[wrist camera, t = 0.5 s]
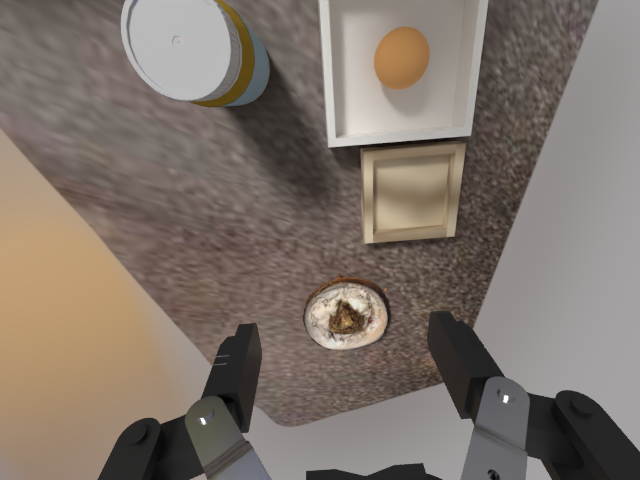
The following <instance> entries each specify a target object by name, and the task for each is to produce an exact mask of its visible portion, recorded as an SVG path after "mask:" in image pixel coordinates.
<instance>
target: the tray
mask: <svg viewBox="0 0 640 480" xmlns="http://www.w3.org/2000/svg"><path fill="white" fill-rule="evenodd" d="M465 149H466V143H464V142H460V141H445V142H433V143H420V144H408V145H396V146H384V147H372V148H360V150H361V205H362V237H363V240H364V242H365V244H366V243H378V242H391V241H403V240H416V239H428V238H441V237H453V236H455V228H456V220H457V212H458V204H459V197H460V189H461V181H462V173H463V165H464V157H465Z"/></svg>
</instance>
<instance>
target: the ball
mask: <svg viewBox="0 0 640 480" xmlns="http://www.w3.org/2000/svg"><path fill="white" fill-rule="evenodd" d="M429 57H430V51H429V45H428V42H427V40H426V38H425V37H424V35H423V34H422V33H421V32H420V31H418V30H417V29H415V28H412V27H399V28H396V29H394V30H392V31H390V32H389V33H388V34H387V35H385V36H384V38H383V39H382V40H381V41H380V43H379V45H378V47H377V49H376V52H375V56H374V68H375V72H376V75H377V77H378V79H379V80H380V81H381V82H382V83H383V84H384V85H385V86H387V87H389V88H391V89H405V88H408V87H410V86H412V85H414V84H415V83H416V82H417V81H418V80H419V79H420V78H421V77H422V76H423V74H424V73H425V71H426V69H427V66H428V63H429Z"/></svg>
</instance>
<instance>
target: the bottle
mask: <svg viewBox="0 0 640 480" xmlns="http://www.w3.org/2000/svg"><path fill="white" fill-rule="evenodd" d="M121 34H122V40H123V44H124V47H125V50H126V53H127V55H128V58H129V60H130V62H131V63H132V65H133V67H134V68H135V70H136V71H137V73H138V74H139V75H140V76H141V78H142V79H143V80H144V81H145V82H146V83H147V84H148V85H150V86H151V87H152V88H153V89H155V90H156V91H157V92H159V93H161V94H163V95H164V96H168V97H169V98H174V100H180V101H187V102H191V103H194V104H197V105H200V106H204V107H224V106H238V105H245V104H248V103H251V102H253V101H255V100H256V99H257V98H258V97H259V96H261V95H262V93H263V92H264V90H265V88H266V86H267V84H268V81H269V76H270V63H269V58H268V55H267V52H266V50H265V48H264V46H263V44H262V43H261V41H260V40H259V38H258V37H257V36H256V35H255V33H254V32H253V31H252V30H251V29H250V28H249V26H248V25H247V24H246V23H245V22H244V21H243V19H242V18H241V17H240V16H239V15H238V14H237V13H236V12H235V10H234V9H232V8H231V7H230V6H229V5H227V4H226V3H225V2H223V1H222V0H125V3H124V6H123V10H122V15H121Z"/></svg>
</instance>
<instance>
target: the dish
mask: <svg viewBox="0 0 640 480" xmlns="http://www.w3.org/2000/svg"><path fill="white" fill-rule="evenodd" d="M487 8H488V0H318V13H319V29H320V44H321V60H322V75H323V91H324V107H325V122H326V138H327V145H328V147H340V146H352V145H364V144H376V143H388V142H401V141H413V140H425V139H437V138H449V137H461V136H471V131H472V123H473V115H474V108H475V100H476V92H477V85H478V77H479V69H480V62H481V54H482V46H483V39H484V31H485V23H486V16H487ZM399 27H412V28H415V29H417V30H418V31H420V32H421V33H422V34H423V35H424V37H425V38H426V40H427V42H428V45H429V51H430V57H429V63H428V66H427V69H426V71H425V73H424V74H423V76H422V77H421V78H420V79H419V80H418V81H417V82H416V83H415V84H414V85H412V86H410V87H408V88H405V89H391V88H389V87H387V86H385V85H384V84H383V83H382V82H381V81H380V80H379V79H378V77H377V75H376V72H375V68H374V56H375V52H376V49H377V47H378V45H379V43H380V41H381V40H382V39H383V38H384V36H385V35H387V34H388V33H389V32H390V31H392V30H394V29H396V28H399Z"/></svg>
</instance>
